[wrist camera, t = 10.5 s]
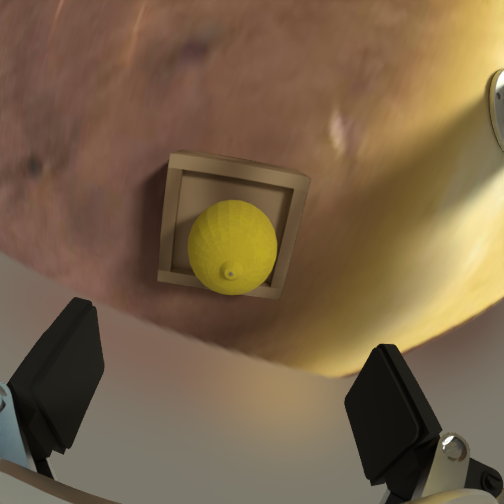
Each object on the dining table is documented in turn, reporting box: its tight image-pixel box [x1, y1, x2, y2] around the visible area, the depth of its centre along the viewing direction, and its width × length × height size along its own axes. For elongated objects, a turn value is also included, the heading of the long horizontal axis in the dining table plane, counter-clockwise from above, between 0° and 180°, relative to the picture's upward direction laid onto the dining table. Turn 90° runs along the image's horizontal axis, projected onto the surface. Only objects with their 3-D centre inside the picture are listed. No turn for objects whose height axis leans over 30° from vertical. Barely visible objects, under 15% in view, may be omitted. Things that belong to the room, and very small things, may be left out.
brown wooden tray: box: [157, 150, 311, 300], centre depth 24 cm, size 10×10×5 cm
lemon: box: [188, 200, 277, 295], centre depth 19 cm, size 6×6×8 cm
